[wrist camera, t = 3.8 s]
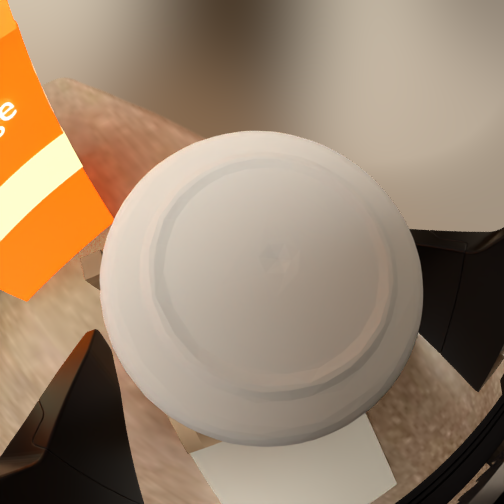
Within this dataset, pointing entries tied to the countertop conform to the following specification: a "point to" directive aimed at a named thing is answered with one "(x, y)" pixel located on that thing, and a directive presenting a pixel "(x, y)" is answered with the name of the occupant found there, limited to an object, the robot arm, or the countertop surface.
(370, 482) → the mat
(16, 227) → the orange juice
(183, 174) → the sprinkles bottle
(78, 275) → the countertop surface
